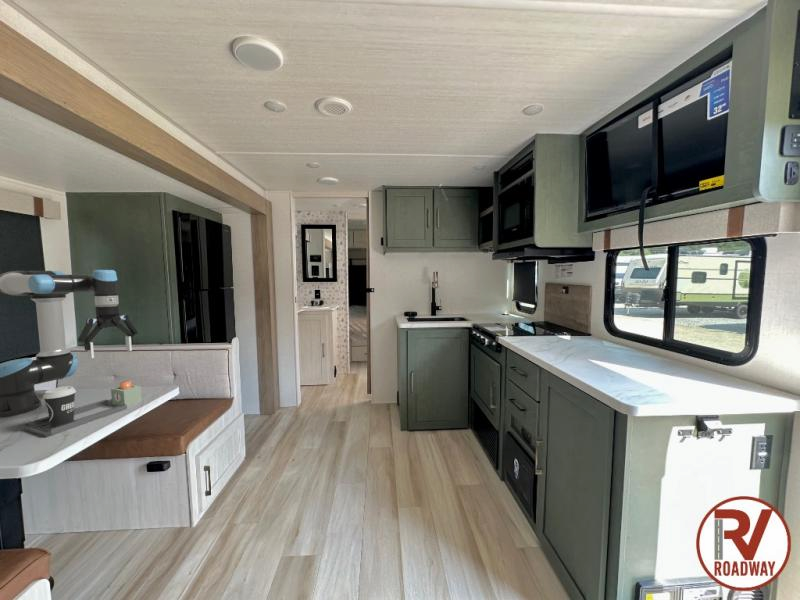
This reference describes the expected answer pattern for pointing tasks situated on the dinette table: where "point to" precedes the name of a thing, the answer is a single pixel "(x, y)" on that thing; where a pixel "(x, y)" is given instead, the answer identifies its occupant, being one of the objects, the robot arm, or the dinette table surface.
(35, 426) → the gray rectangular frame
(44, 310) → the robot arm
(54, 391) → the coffee cup
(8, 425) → the dinette table surface
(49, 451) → the dinette table surface
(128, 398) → the cabinet
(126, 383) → the egg
